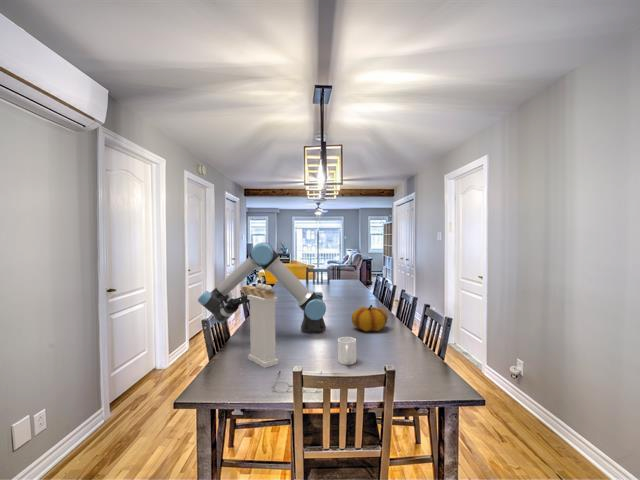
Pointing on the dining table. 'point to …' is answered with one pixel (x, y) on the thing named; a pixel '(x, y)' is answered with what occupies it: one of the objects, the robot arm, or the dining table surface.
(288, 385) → the eyeglasses
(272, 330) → the pedestal
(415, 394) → the dining table surface
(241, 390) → the dining table surface
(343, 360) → the cup
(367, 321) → the decorative pumpkin
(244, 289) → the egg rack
